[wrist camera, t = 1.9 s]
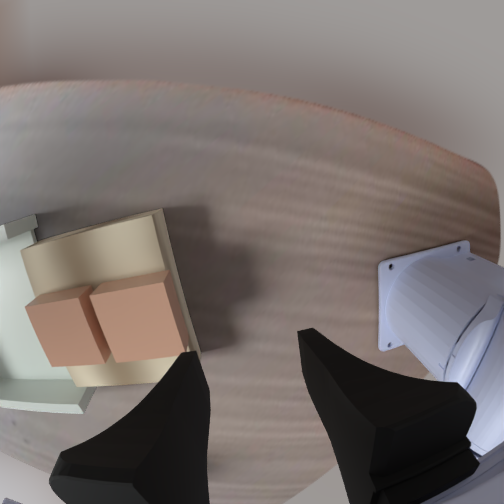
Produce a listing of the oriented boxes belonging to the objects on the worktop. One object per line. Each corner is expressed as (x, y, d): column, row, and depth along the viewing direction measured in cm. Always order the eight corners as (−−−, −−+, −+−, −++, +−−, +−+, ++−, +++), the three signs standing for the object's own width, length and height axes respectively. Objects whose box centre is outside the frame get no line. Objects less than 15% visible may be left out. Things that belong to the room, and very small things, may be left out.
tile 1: (169, 269, 17) (163, 282, 15) (189, 336, 18) (185, 354, 17) (101, 282, 17) (89, 295, 15) (124, 345, 18) (116, 362, 16)
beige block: (162, 208, 19) (151, 215, 16) (201, 353, 22) (198, 377, 19) (41, 239, 19) (19, 250, 16) (89, 365, 22) (76, 386, 19)
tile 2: (90, 284, 17) (78, 297, 15) (114, 347, 18) (105, 363, 16) (39, 295, 17) (24, 306, 15) (63, 351, 18) (51, 367, 16)
